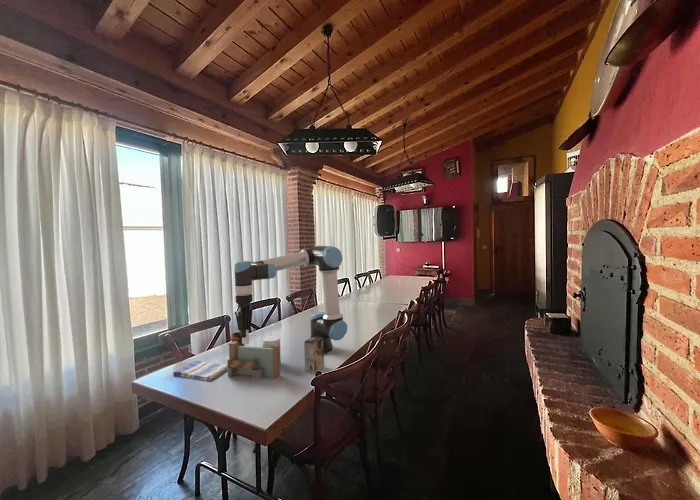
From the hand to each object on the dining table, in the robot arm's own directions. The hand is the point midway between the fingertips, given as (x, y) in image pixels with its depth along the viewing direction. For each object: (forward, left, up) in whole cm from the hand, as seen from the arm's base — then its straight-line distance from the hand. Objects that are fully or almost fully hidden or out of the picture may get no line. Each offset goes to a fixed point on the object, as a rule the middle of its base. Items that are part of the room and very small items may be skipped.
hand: (245, 343), depth 144 cm
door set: (+1, -8, -20) cm, 22 cm away
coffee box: (-27, -22, -20) cm, 40 cm away
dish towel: (+30, -9, -21) cm, 37 cm away
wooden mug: (+25, -36, -20) cm, 48 cm away
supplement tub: (-2, -23, -20) cm, 31 cm away
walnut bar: (+6, -7, -15) cm, 17 cm away
